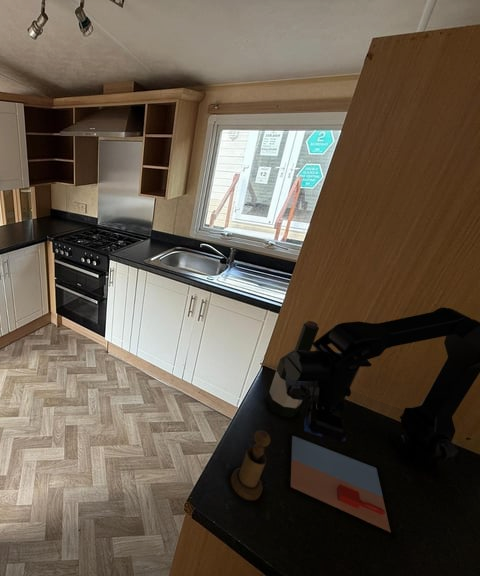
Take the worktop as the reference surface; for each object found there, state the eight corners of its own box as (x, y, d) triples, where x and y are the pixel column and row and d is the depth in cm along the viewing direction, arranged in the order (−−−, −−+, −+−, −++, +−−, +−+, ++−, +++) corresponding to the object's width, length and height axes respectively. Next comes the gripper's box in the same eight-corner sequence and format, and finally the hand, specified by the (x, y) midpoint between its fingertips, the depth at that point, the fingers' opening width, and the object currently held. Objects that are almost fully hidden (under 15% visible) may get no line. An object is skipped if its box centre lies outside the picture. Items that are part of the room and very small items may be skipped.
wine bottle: (297, 404, 95) (331, 320, 82) (296, 423, 89) (332, 336, 75) (267, 393, 99) (294, 312, 86) (264, 410, 93) (292, 326, 79)
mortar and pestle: (264, 504, 69) (286, 451, 61) (233, 498, 70) (251, 445, 62) (256, 475, 75) (275, 423, 67) (228, 470, 76) (243, 418, 68)
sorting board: (375, 469, 76) (376, 468, 76) (389, 533, 64) (390, 532, 64) (291, 436, 85) (292, 435, 84) (289, 488, 72) (290, 486, 72)
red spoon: (382, 508, 68) (385, 503, 67) (384, 521, 66) (388, 516, 65) (336, 488, 72) (339, 483, 71) (337, 500, 69) (340, 495, 69)
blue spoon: (344, 436, 73) (346, 431, 73) (345, 446, 71) (348, 440, 70) (303, 421, 77) (305, 416, 76) (303, 430, 75) (306, 425, 74)
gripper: (293, 344, 79) (277, 390, 86) (292, 391, 65) (273, 442, 71) (347, 358, 74) (326, 406, 81) (359, 413, 59) (331, 465, 66)
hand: (313, 427), depth 75 cm, fingers closed on blue spoon, 3 cm apart
